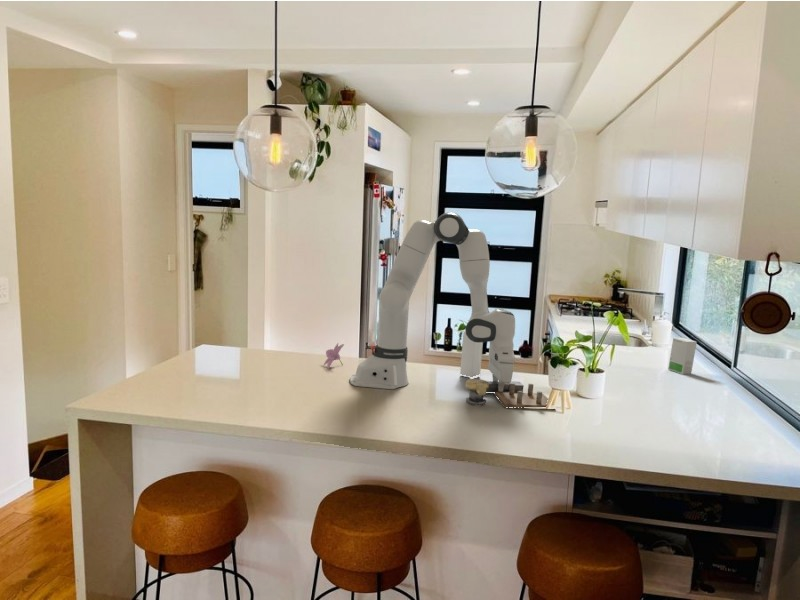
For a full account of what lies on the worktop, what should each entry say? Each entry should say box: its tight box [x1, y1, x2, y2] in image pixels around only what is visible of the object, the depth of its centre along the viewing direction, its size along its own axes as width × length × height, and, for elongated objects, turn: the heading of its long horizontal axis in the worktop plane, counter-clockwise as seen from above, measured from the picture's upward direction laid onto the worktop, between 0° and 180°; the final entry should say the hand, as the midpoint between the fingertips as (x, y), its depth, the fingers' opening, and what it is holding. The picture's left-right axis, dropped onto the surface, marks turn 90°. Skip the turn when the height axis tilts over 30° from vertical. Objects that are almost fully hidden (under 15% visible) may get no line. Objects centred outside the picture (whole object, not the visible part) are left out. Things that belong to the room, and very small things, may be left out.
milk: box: [459, 330, 484, 377], centre depth 233 cm, size 6×6×22 cm
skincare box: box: [667, 337, 698, 375], centre depth 265 cm, size 8×7×16 cm
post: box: [465, 389, 487, 406], centre depth 201 cm, size 7×7×5 cm
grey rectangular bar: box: [486, 380, 524, 393], centre depth 214 cm, size 19×5×4 cm, turn 95°
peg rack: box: [494, 383, 549, 409], centre depth 204 cm, size 18×14×6 cm
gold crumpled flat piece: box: [465, 378, 489, 396], centre depth 198 cm, size 12×8×2 cm, turn 5°
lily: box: [323, 342, 345, 370], centre depth 238 cm, size 12×12×10 cm
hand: (497, 388), depth 214 cm, fingers open, 5 cm apart
